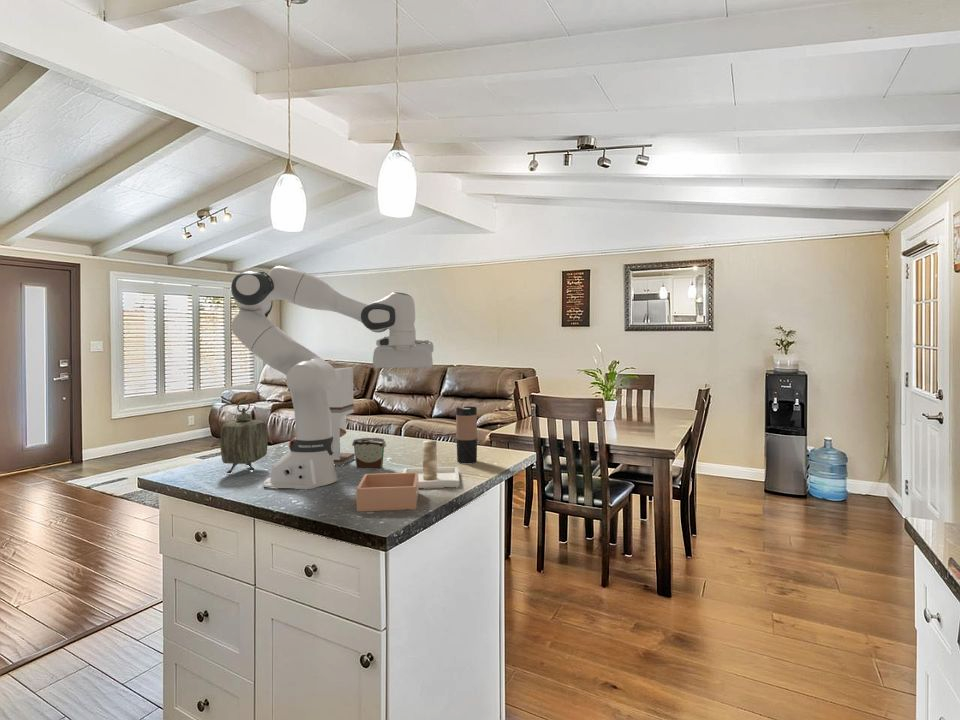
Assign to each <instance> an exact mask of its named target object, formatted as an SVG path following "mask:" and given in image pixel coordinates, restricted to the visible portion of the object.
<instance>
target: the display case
mask: <svg viewBox="0 0 960 720" xmlns="http://www.w3.org/2000/svg"><path fill="white" fill-rule="evenodd" d="M334 370H335V375H336V376H335V380H334V383H333V384H332V386H331V387H330V388H329V389H328V390H326V395H327V400H328V405H329V409H330V411H331V427H332V436H333V441H334V452H333V460H334V464H335V465H334V466H336V465H343V464H344V465H346V464H347V463H346V462H348V461H350V460H351V461H353V460H355V459H354V458H355V452H354V453H353V452H352V453H351V452H341V438H342V437H343V436H345V435H346V434H347V416H348V415H350V414H354V413H355V411H354V407H355V405H354V403H355V402H354V367H353V366H352V367H350V366H349V367H344V368H341V367H340V368H334ZM352 459H353V460H352ZM351 461H350V462H351ZM345 463H346V464H345ZM348 463H349V462H348ZM344 465H343V466H344Z"/></svg>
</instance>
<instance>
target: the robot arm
mask: <svg viewBox="0 0 960 720" xmlns="http://www.w3.org/2000/svg"><path fill="white" fill-rule="evenodd" d="M230 288H231V289H230V290H231V291H230V292H231V294H232V296H233V299H234V302H235V304H236V306H237V308H238V310H239V311H238V314H236V315H235V316H234V317H233V319H232V321H231V325H230V329H231V332H232V333H233V334H234V336H235V337H236V338H237V339H238V340H239V342H240V343H241V344H242V345H244V347H246V348H247V349H248V350H249V351H250V352H251V353H253V354H254V355H255V356H256V357H258V358H259V359H260V360H261V361H262V362H264V363H265V364H266V365H268V366H269V367H270V368H271V369H273V370H276V371H278V372H280V373H281V374H284V375H285V376H286V378H285V383H286V386H287V388H288V390H289V392H290V397H291V401H292V407H293V412H294V425H295V427H294V428H295V429H294V430H295V437H294V436H293V438H291V439H290V441H289V443H288V447H289V451H288V452H286V453H285V454H284V455H283V456H281V457H280V458H279V459H278V460H277V461H276V462H275V463H274V464H273V465H272V468H271V471H270V477H268V478H266V479H265V480H264V481H263V482H262V483H263V484H262V486H264V487H275V488H274V489H278V488H295V489H294V490H312V489H314V488H317V487H322V486H327V485H329V484H333V483H336V482H337V481H338V479H339V478H338V475H337V471H336V467H335V466H336V465H334V460H333V452H334V441H333V436H332V427H331V411H330V409H329V405H328V400H327V395H326V390H328V389H329V388H330V387H331V386H332V384H333V383H334V380H335V376H336V375H335V370H334V369H335V368H334V366H333V365H332V364H330V363H329V362H328V361H326V360H324V358H322V357H320V356H319V355H318V354H316V353H314V352H313V351H311V350H310V349H308V348H307V347H305V346H304V345H303V344H300V343H299V342H297V341H296V340H295V339H293V338H292V337H291V336H289V335H288V333H286V332H284V331H283V330H282V329H281V328H279V327H278V326H277V325H276V324H274V322H272V321H270V320H269V318H268V316H269V314H270V313H271V311H272V308H273V305H274V304H273V301H277V300H280V301H287V302H289V303H291V304H293V305H297V306H299V307H302V308H307V309H311V310H316V311H317V310H320V311H326V312H327V311H328V312H334V313H338V314H341V315H343V316H346V317H349V318H351V319H354V320H356V321H357V322H358V321H359V322H360V323H361V324H363V326H364V327H366V329H368V330H370V332H374V333H382V332H383V333H384V332H385V331H387V330H389V331H388V332H389V336H388V335H387V336H384V337H382V338H379V339H377V340H376V342H375V344H376V347H375V348H374V351H373V355H372V356H373V357H372V367H374V368H375V369H383V372H384V375H385V376H386V381H387V382H393V379H392V377H393V376H392V375H389V373H388V371H389V369H397V368H398V369H399V368H401V369H402V368H405V369H406V368H408V369H409V368H411V369H412V368H418V369H417V370H418V371H419V372H418V374H415V376H414V377H415V379H414V381H415V382H419V381H420V380H421V379H420V376H421V373H422V372H423V369H424V368H432V366H433V354H432V353H433V352H434V344H433V342H432V341H430V340H427V339H425V340H418V339H417V338H416V331H417V330H416V328H415V322H416V305H415V300H414V298H413V296H411V295H409V294H408V293H404V292H396V291H393V292H391V293H390V294H389V295H387V296H385V297H384V298H381V299H379V300H376V301H373V302H369V303H364V302H361V301H358V300H357V299H354V298H351V297H348V296H346V295H343V294H342V293H340V292H338V291H337V290H335V289H334V288H333V287H332V286H330V285H329V284H328V283H326V282H325V281H323V280H322V279H320V278H318V277H317V276H315V275H313V274H310V273H309V272H304V271H302V270H299V269H295V268H292V267H289V266H283V265H276V266H274V267H272V268H271V269H270V270H269V271H268V272H267V273H266V272H265V271H243V272H240V273H238V274H237V275H235V277H233V280H232V282H231V287H230ZM264 487H263V488H264Z"/></svg>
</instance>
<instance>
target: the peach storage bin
mask: <svg viewBox="0 0 960 720" xmlns="http://www.w3.org/2000/svg"><path fill="white" fill-rule="evenodd" d="M419 493H420V492H419V480H418V473H403V472H390V473H389V472H385V473H365V474H364V475H363V477H362V478H361V481H360V482H359V484H358V485H357V487H356V512H373V511H375V512H377V511H378V512H379V511H380V510H381V511H404V510H405V509H410V510H417V507H418V501H419ZM405 511H406V510H405Z"/></svg>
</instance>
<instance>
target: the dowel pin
mask: <svg viewBox="0 0 960 720" xmlns="http://www.w3.org/2000/svg"><path fill="white" fill-rule="evenodd" d="M437 453H438V451H437V440H434V439H428V440H427V439H426V440H423V441H422V468H423V479H424V480H428V481H431V480H436V479H437V467H438V464H437V463H438V459H437V458H438V454H437Z"/></svg>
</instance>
